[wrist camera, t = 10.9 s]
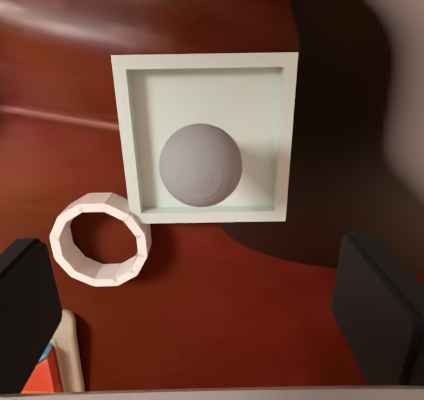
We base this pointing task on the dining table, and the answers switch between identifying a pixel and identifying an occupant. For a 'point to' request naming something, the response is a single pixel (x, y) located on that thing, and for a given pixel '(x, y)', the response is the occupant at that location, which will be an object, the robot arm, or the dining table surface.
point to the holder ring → (84, 266)
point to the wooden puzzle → (59, 362)
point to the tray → (214, 115)
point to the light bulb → (200, 165)
